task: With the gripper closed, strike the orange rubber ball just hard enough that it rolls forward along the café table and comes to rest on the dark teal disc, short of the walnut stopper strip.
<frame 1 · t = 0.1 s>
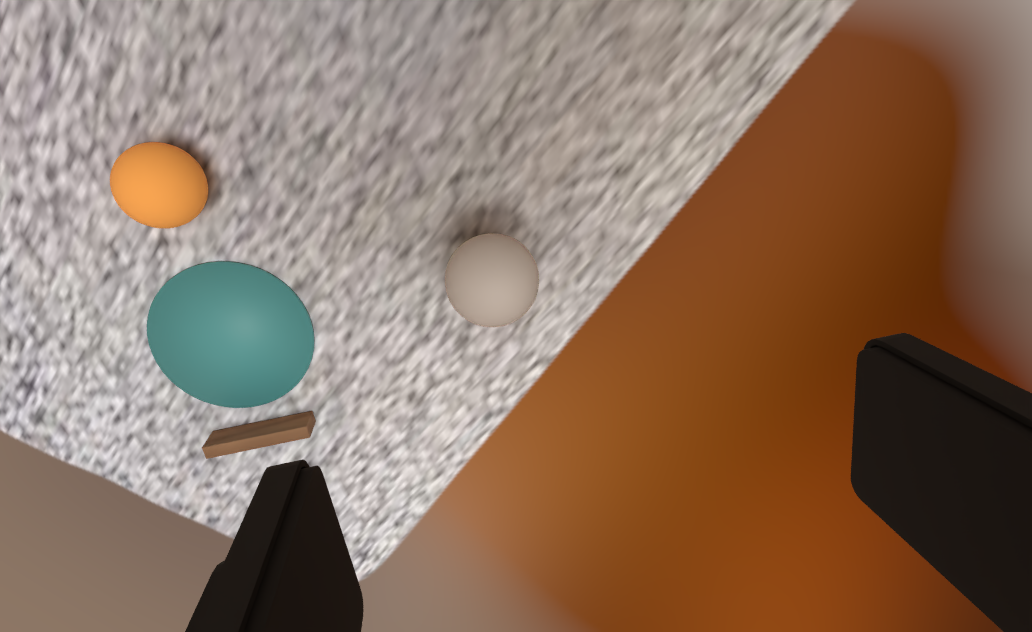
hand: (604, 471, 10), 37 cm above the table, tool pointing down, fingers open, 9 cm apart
ball: (160, 185, 39), on the table
lightbulb: (481, 251, 46), on the table
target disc: (233, 337, 46), on the table
stopper strip: (264, 426, 49), on the table
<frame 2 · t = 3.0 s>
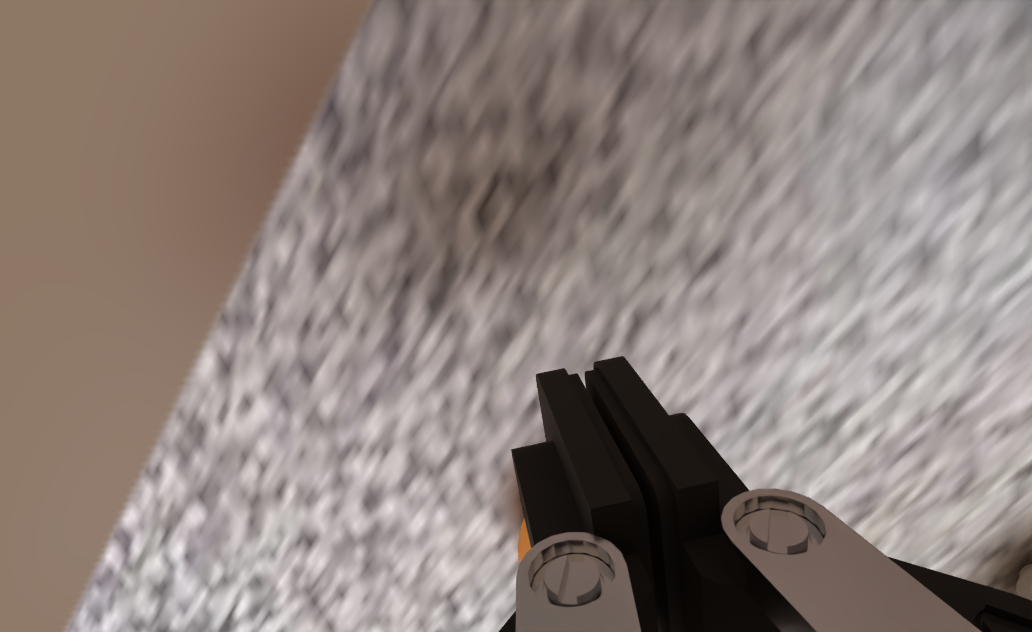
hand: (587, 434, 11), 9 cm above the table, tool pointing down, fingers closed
ball: (597, 549, 21), on the table
lightbulb: (1022, 566, 28), on the table
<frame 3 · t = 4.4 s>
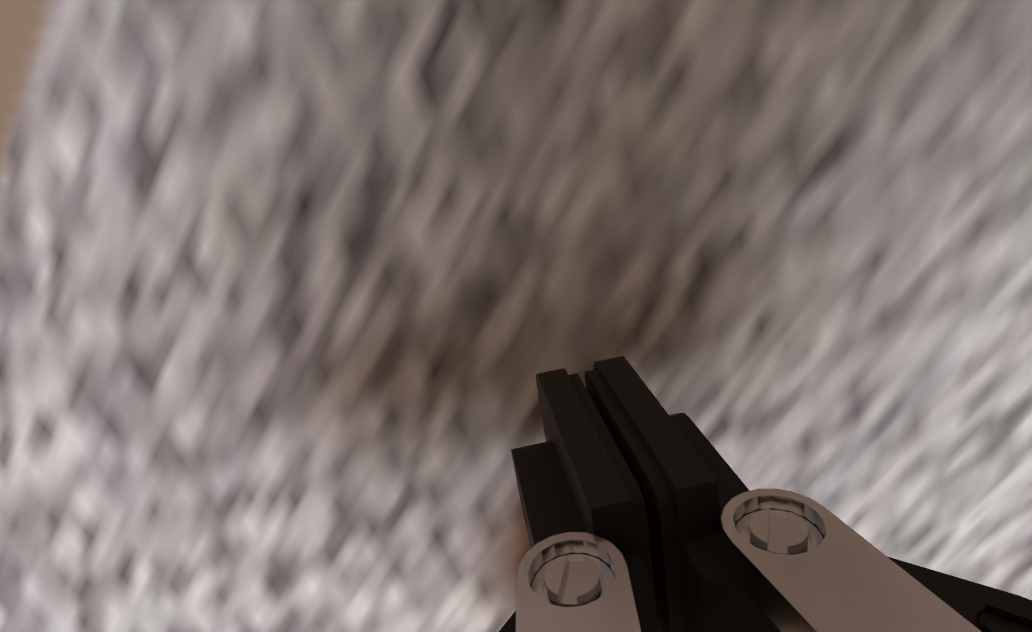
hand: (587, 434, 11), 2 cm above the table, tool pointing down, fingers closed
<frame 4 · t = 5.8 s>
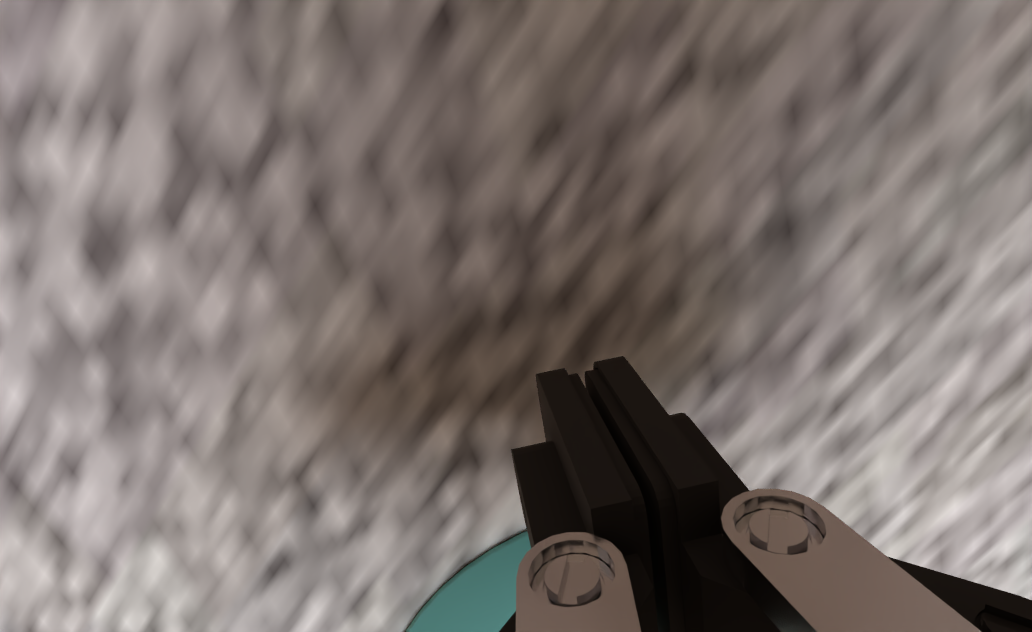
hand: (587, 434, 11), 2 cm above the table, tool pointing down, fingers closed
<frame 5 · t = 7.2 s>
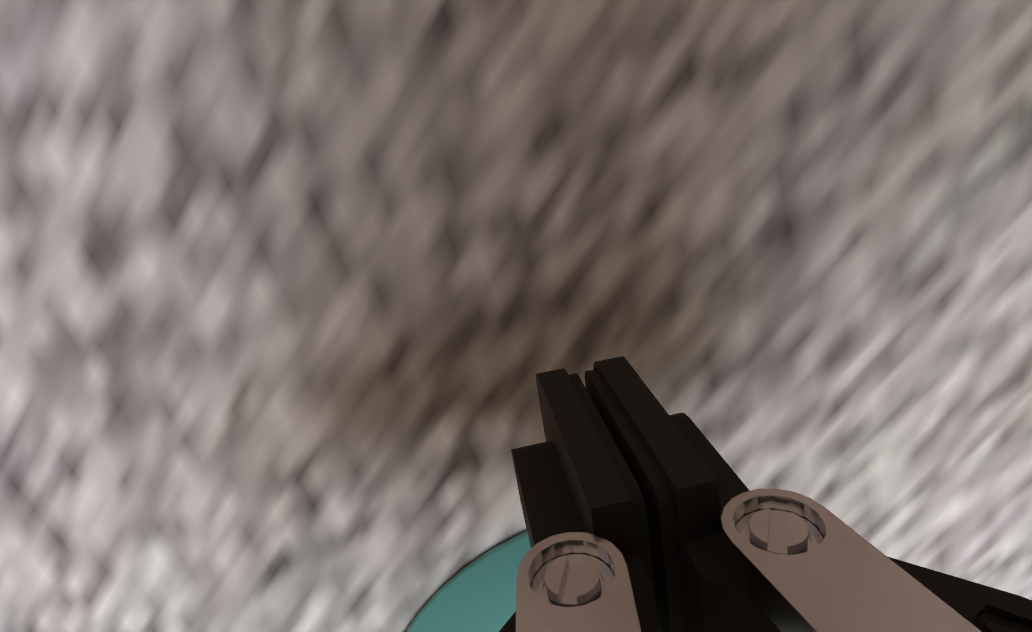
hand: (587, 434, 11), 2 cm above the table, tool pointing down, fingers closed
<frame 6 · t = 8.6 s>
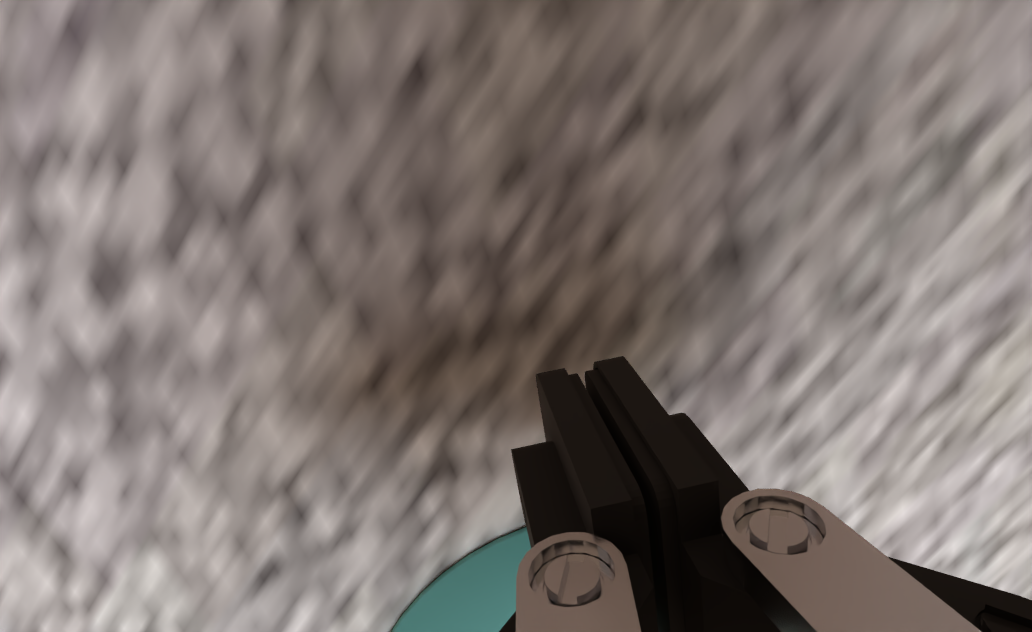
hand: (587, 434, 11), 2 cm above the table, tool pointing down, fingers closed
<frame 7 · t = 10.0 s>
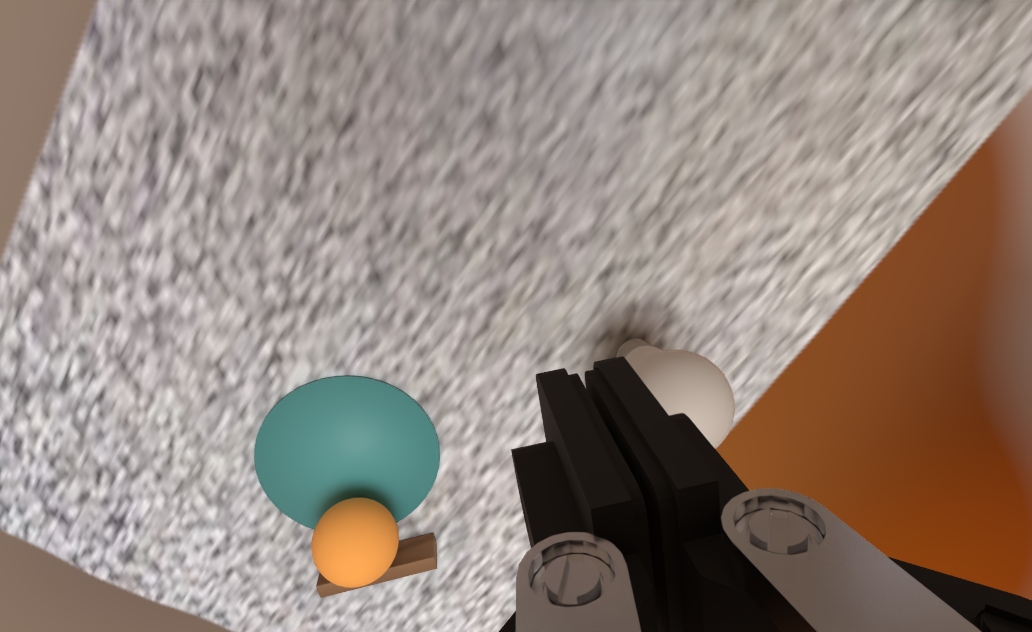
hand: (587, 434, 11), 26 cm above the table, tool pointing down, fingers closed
ball: (356, 541, 39), on the table
lightbulb: (629, 350, 41), on the table
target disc: (349, 457, 40), on the table
stopper strip: (380, 552, 43), on the table
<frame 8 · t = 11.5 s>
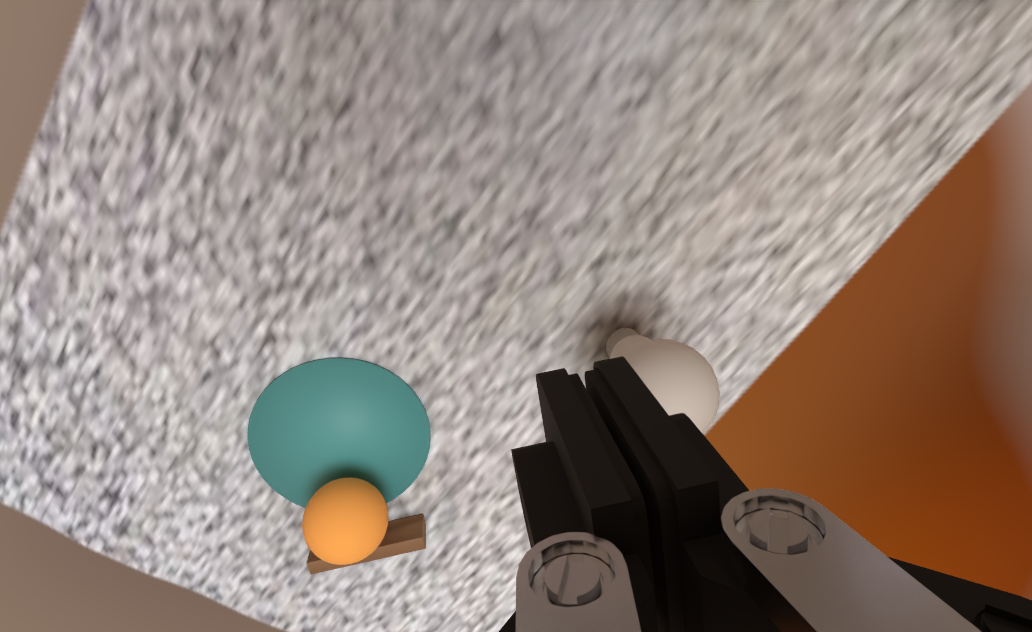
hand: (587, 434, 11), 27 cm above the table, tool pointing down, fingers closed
ball: (346, 520, 40), on the table
lightbulb: (619, 339, 41), on the table
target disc: (341, 438, 41), on the table
stopper strip: (370, 531, 43), on the table
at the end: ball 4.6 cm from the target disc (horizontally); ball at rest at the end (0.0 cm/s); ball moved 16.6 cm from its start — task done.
